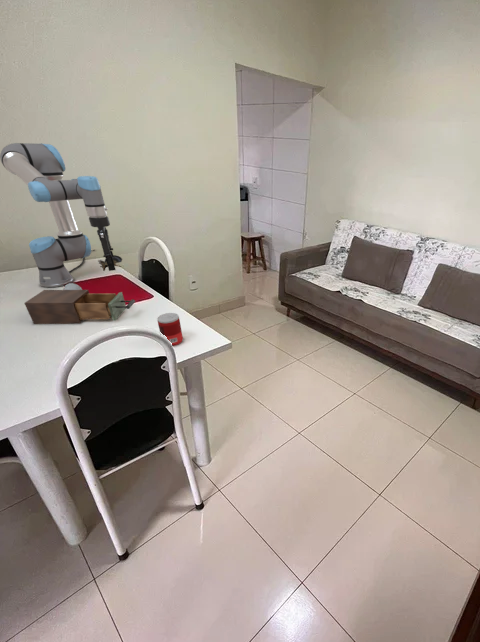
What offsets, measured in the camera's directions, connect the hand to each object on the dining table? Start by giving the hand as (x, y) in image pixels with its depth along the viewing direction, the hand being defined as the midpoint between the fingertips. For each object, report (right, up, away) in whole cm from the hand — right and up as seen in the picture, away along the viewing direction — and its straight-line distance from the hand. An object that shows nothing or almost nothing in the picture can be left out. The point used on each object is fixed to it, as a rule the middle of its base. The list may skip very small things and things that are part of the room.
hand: (112, 267), depth 154 cm
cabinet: (-16, -24, -9) cm, 30 cm away
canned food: (+38, -36, -23) cm, 58 cm away
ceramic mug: (-21, -15, +6) cm, 26 cm away
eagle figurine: (-1, -1, +1) cm, 1 cm away
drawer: (+2, -23, -7) cm, 24 cm away
